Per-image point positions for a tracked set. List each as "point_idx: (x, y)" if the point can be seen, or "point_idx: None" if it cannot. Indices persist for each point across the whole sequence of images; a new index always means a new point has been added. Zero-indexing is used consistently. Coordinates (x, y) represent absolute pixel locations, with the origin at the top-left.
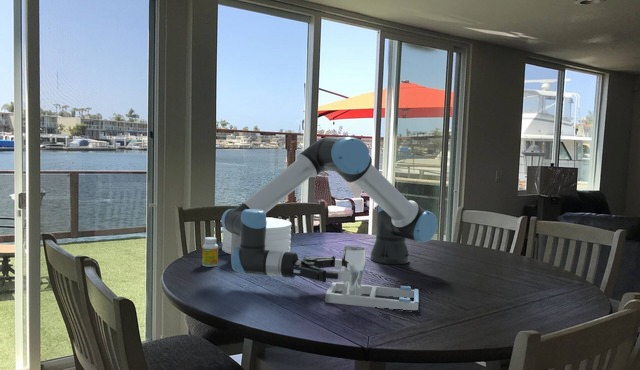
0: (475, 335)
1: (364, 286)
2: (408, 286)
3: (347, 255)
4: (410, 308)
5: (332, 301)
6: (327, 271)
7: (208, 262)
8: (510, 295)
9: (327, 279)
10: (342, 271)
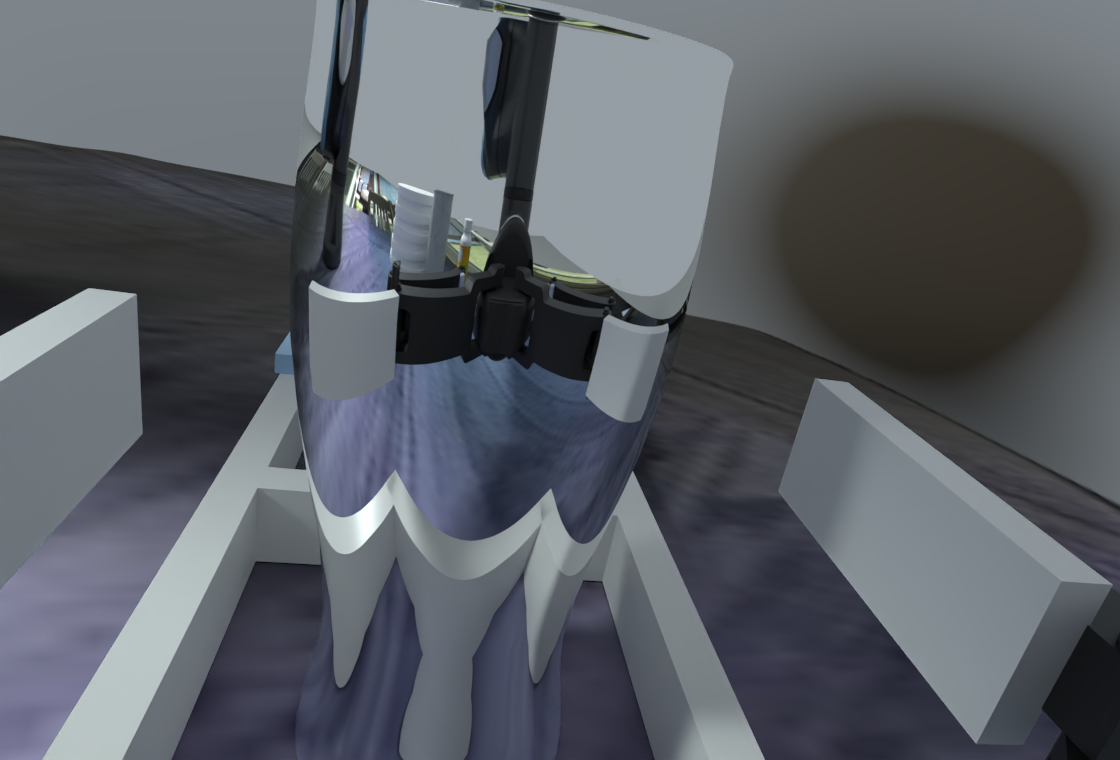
0: (722, 347)
1: (232, 544)
2: (289, 334)
3: (710, 176)
4: None
5: None
6: (1091, 606)
7: None
8: (201, 226)
9: (1010, 733)
10: (906, 428)
